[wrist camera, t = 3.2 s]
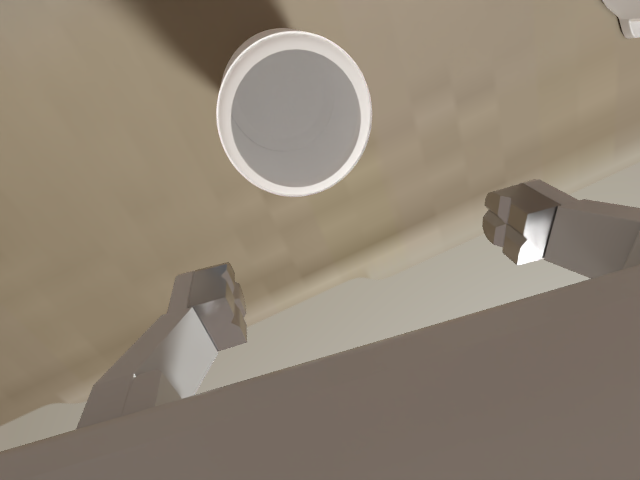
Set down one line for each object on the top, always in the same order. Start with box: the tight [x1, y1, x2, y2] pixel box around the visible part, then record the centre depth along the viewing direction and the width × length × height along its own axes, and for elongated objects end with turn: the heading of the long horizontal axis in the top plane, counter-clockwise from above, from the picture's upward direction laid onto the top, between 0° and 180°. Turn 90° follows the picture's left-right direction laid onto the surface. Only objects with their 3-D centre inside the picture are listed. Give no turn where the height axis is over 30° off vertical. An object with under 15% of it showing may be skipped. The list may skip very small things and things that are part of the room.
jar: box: [217, 28, 372, 197], centre depth 28 cm, size 11×10×15 cm
